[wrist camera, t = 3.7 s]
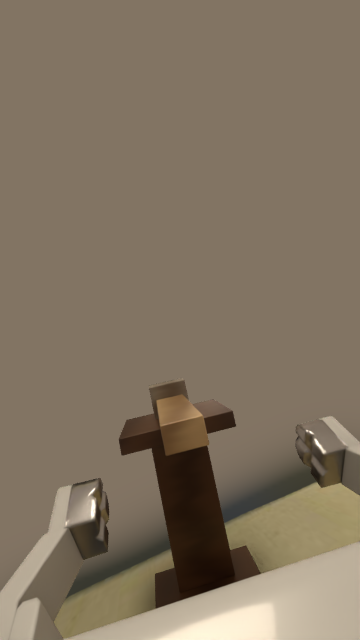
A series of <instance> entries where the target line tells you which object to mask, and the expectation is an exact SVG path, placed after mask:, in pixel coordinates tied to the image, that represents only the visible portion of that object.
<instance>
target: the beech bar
mask: <svg viewBox="0 0 360 640" xmlns="http://www.w3.org/2000/svg"><path fill="white" fill-rule="evenodd" d="M149 390H150V395H151V400H152V405H153V410H154V415H155V419H156V420H157V419H159V423H160V429H161V434H162V439H163V444H164V449H165V454H166V456H169V455H172V454H176V453H180V452H184V451H188V450H191V449H195V448H199V447H203V446H207V445H209V440H208V436H207V431H206V426H205V422H204V417H203V415H202V414H201V413H200V412H199V411H198V410H197V409H196V408H195V407H194V406H193V405H192V404H191V403H190V402H189V400H188V395H187V390H186V386H185V382H184V380H183V379H182V378H180V379H176V380H171V381H167V382H163V383H158V384H154V385H150V386H149Z"/></svg>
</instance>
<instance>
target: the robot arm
mask: <svg viewBox="0 0 360 640" xmlns="http://www.w3.org/2000/svg"><path fill="white" fill-rule="evenodd" d="M296 433H297V434H298V438H297V439H296V449H297V452H298V455H299V457H300V459H301V460H302V462H303V463H304V464H305V465H307V466H309V467H311V474H312V475H313V477H314V478H315V480H316V481H317V482H318V484H319V485H320V487H321V488H323V487H327V486H330V485H334V484H338V483H342V484H343V485H344V486H346V487H347V488H349V489H351V490H352V491H354V492H355V493H357V494H358V495H360V442H359V441H358V440H356V439H355V438H354V437H353V436H352V435H351V434H350V433H349V432H348V431H347V430H346V429H345V428H344V427H343V426H342V425H341V424H340V423H339V422H338V421H337V420H336V419H335V418H334V417H332V416H328V417H325V418H321V419H317V420H314V421H310V422H306V423H303V424H299V425H297V427H296ZM102 489H103V484H102V481H101V479H100V478H98V479H93V480H89V481H85V482H81V483H77V484H73V485H69V486H65V487H61V488H59V490H58V491H57V494H56V498H55V503H54V508H53V512H52V516H51V521H50V525H49V529H48V533H47V534H43V536H42V537H41V538H40V540H39V541H38V542H37V544H36V545H35V546H34V548H33V549H32V550H31V552H30V553H29V554H28V556H27V557H26V558H25V560H24V561H23V562H22V564H21V565H20V567H19V568H18V569H17V570H16V572H15V573H14V574H13V576H12V577H11V578H10V580H9V581H8V582H7V584H6V585H5V586H4V588H3V589H2V590H1V592H0V640H360V541H359V542H356V543H353V544H350V545H347V546H344V547H341V548H338V549H335V550H332V551H329V552H326V553H323V554H320V555H317V556H314V557H311V558H308V559H304V560H301V561H298V562H295V563H292V564H289V565H286V566H283V567H280V568H277V569H274V570H271V571H268V572H265V573H262V574H259V575H256V576H253V577H250V578H247V579H244V580H241V581H238V582H235V583H232V584H229V585H226V586H223V587H220V588H217V589H214V590H211V591H208V592H205V593H202V594H199V595H196V596H193V597H190V598H187V599H184V600H181V601H178V602H175V603H172V604H169V605H166V606H163V607H160V608H157V609H154V610H151V611H148V612H145V613H142V614H139V615H136V616H133V617H130V618H127V619H124V620H121V621H118V622H115V623H112V624H109V625H105V626H102V627H99V628H96V629H93V630H90V631H87V632H84V633H81V634H78V635H75V636H72V637H69V638H66V639H63V637H62V636H61V634H60V632H59V631H58V629H57V628H56V626H55V624H54V623H53V622H54V620H55V618H56V616H57V614H58V612H59V610H60V608H61V606H62V604H63V602H64V600H65V598H66V596H67V594H68V592H69V590H70V588H71V586H72V584H73V582H74V580H75V578H76V576H77V574H78V572H79V570H80V568H81V566H82V564H83V562H84V561H83V560H85V559H88V558H91V557H94V556H97V555H100V554H102V553H106V552H108V530H107V527H106V524H107V522H108V520H109V506H108V499H107V495H106V492H104V491H102Z"/></svg>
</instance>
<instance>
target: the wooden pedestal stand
mask: <svg viewBox="0 0 360 640" xmlns="http://www.w3.org/2000/svg"><path fill="white" fill-rule="evenodd" d="M192 405H193V406H194V407H195V408H196V409H197V410H198V411H199V412H200V413H201V414H202V415H203V417H204V422H205V426H206V431H207V434H208V433H212V432H216V431H220V430H224V429H228V428H232V427H235V426H236V424H235V419H234V415H233V411H232V410H230V409H229V408H227V407H225V406H224V405H222V404H220V403H218V402H217V401H215V400H214V399H212V400H208V401H204V402H200V403H196V404H192ZM119 444H120V449H121V455H126V454H130V453H134V452H138V451H142V450H146V449H150V448H152V453H153V458H154V463H155V468H156V473H157V479H158V484H159V489H160V494H161V500H162V505H163V510H164V515H165V520H166V525H167V531H168V536H169V541H170V546H171V551H172V556H173V562H174V567H175V568H172V569H169V570H166V571H163V572H160V573H156V574H155V595H156V609H157V608H160V607H163V606H166V605H169V604H172V603H175V602H178V601H181V600H184V599H187V598H190V597H193V596H196V595H199V594H202V593H205V592H208V591H211V590H214V589H217V588H220V587H223V586H226V585H229V584H232V583H235V582H238V581H241V580H244V579H247V578H250V577H253V576H256V575H259V574H261V573H260V572H259V570H258V568H257V566H256V564H255V562H254V560H253V558H252V556H251V554H250V552H249V550H248V548H247V546H243V547H239V548H236V549H233V550H230V548H229V544H228V539H227V535H226V530H225V525H224V521H223V516H222V512H221V507H220V502H219V498H218V493H217V488H216V484H215V480H214V475H213V470H212V465H211V461H210V456H209V451H208V447H207V446H203V447H199V448H195V449H191V450H188V451H184V452H180V453H176V454H172V455H169V456H166V454H165V449H164V444H163V439H162V434H161V429H160V423H159V419H157V420H156V419H155V415H154V414H150V415H146V416H142V417H137V418H133V419H129V420H127V421H126V423H125V425H124V428H123V430H122V433H121V435H120V438H119Z"/></svg>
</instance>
